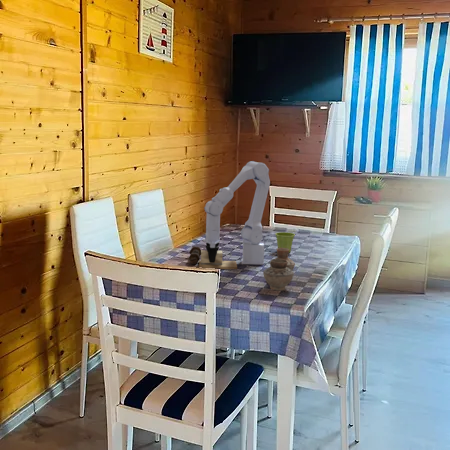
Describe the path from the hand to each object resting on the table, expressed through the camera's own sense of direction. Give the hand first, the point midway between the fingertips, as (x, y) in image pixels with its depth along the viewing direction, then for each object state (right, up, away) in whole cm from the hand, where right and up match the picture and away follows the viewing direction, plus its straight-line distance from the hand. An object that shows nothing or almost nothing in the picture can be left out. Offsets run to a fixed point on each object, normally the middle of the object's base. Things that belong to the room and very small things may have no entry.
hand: (212, 260), depth 233 cm
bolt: (-8, -1, +8) cm, 11 cm away
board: (+2, -2, +1) cm, 3 cm away
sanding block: (0, -1, 0) cm, 1 cm away
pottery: (+26, -8, -23) cm, 36 cm away
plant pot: (+34, +2, +31) cm, 46 cm away
